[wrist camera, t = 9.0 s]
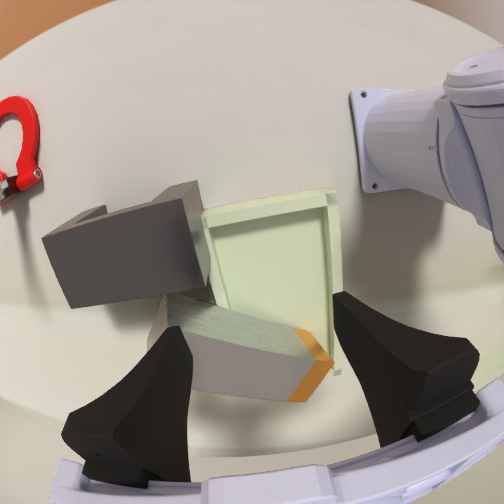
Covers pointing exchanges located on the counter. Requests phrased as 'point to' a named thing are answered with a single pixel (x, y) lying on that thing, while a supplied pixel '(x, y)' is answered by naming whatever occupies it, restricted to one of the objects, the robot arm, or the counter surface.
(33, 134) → the tow hook
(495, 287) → the counter surface
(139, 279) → the bracket
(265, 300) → the tray
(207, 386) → the pin
